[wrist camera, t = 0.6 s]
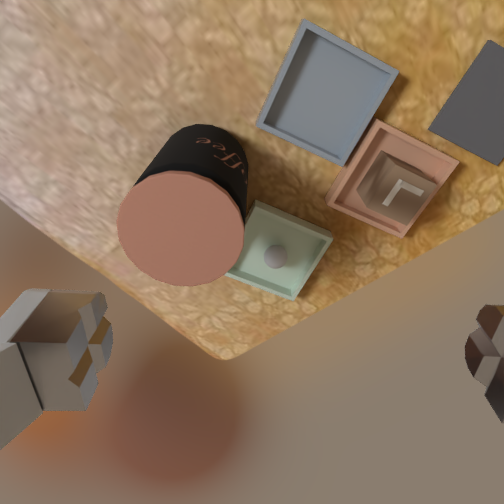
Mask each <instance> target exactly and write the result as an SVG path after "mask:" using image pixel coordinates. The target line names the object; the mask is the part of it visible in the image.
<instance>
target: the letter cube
mask: <svg viewBox="0 0 504 504" xmlns="http://www.w3.org/2000/svg"><path fill="white" fill-rule="evenodd" d="M436 186H437V184H436V183H435V182H433V181H432V180H431V179H430V178H429V177H428V176H427V175H425V174H424V173H423V172H422V171H421V170H420V169H418V168H416V167H414V166H412V165H410V164H408V163H406V162H404V161H402V160H400V159H398V158H396V157H394V156H392V155H390V154H388V153H386V152H384V151H382V150H381V151H380V152H379V154H378V156H377V157H376V159H375V160H374V162H373V164H372V165H371V167H370V168H369V170H368V171H367V173H366V175H365V176H364V178H363V179H362V181H361V182H360V184H359V186H358V187H357V189H356V191H357V192H358V194H359V196H360V197H361V199H362V200H363V202H364V204H365V205H366V207H367V208H369V209H371V210H373V211H375V212H377V213H380V214H382V215H384V216H386V217H388V218H391V219H393V220H395V221H397V222H400V223H402V224H404V225H406V226H407V225H408V224H409V223H410V221H411V220H412V219H413V217H414V216H415V215H416V213H417V212H418V210H419V209H420V208H421V206H422V205H423V204H424V202H425V201H426V200H427V198H428V197H429V196H430V194H431V193H432V192H433V190H434V189H435V188H436Z"/></svg>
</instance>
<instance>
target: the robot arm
mask: <svg viewBox="0 0 504 504" xmlns="http://www.w3.org/2000/svg"><path fill="white" fill-rule="evenodd" d="M107 308H108V307H107V303H106V299H105V295H104V294H102V293H101V292H94V291H75V290H56V289H55V290H51V289H28V290H26V291H24V292H23V293H22V294H21V295H20V296H19V297H18V299H17V300H16V301H15V302H14V303H13V304H12V305H11V306H10V308H9V309H8V310H7V311H6V312H5V313H4V314H3V316H2V317H1V318H0V450H1V449H2V448H3V447H4V446H6V445H7V444H8V443H9V442H10V441H11V440H12V439H14V438H15V437H16V436H17V435H18V434H19V433H21V432H22V431H23V430H24V429H25V428H26V427H27V426H28V425H30V424H31V423H32V422H33V421H34V420H36V418H38V417H39V416H40V415H41V414H42V413H43V411H86V410H87V408H88V405H89V403H90V401H91V399H92V396H93V394H94V392H95V390H96V388H97V385H98V380H97V376H96V373H98V372H99V371H100V370H102V369H103V368H104V367H106V365H107V362H108V360H109V358H110V354H111V349H112V344H113V333H112V326H111V323H110V322H109V321H108V320H107V319H106V318H105V317H104V316H103V315H104V314H105V312H106V310H107ZM476 320H477V323H478V325H479V328H478V329H476V330H475V331H474V332H472V333H471V334H469V336H468V339H467V342H466V345H465V360H466V363H467V366H468V369H469V371H470V372H471V374H472V376H473V377H474V378H475V379H476V380H478V381H479V382H480V383H482V384H483V385H485V386H486V391H485V397H486V399H487V400H488V402H489V403H490V405H491V407H492V408H493V410H494V411H495V413H496V415H497V416H498V418H499V419H500V421H501V423H504V305H485V306H484V307H483V308H482V309H481V310H480V311H479V314H478V316H477V318H476Z"/></svg>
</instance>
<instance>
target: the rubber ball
mask: <svg viewBox="0 0 504 504" xmlns="http://www.w3.org/2000/svg"><path fill="white" fill-rule="evenodd" d="M287 259H288V255H287V252H286V250H285V249H284V248H283V247H282V246H279V245H272V246H270V247H268V248H267V249H266V251H265V253H264V261H265V263H266V264H267V265H268V266H269V267H270V268H273V269H278V268H281V267H283V266H284V265H285V264H286V262H287Z"/></svg>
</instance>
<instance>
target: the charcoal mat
mask: <svg viewBox="0 0 504 504" xmlns="http://www.w3.org/2000/svg"><path fill="white" fill-rule="evenodd" d="M428 130H430V131H432V132H434V133H436V134H437V135H439V136H441V137H443V138H445V139H447V140H449V141H451V142H453V143H455V144H457V145H458V146H460V147H462V148H464V149H466V150H468V151H470V152H472V153H474V154H476V155H478V156H479V157H481V158H483V159H485V160H487V161H489V162H491V163H493V164H495V165H498V164H499V163H500V162H501V160H502V159H503V158H504V48H503V47H501V46H500V45H498V44H496V43H495V42H493V41H491V40H488V41H487V43H486V44H485V45H484V47H483V48H482V50H481V51H480V53H479V54H478V56H477V57H476V59H475V60H474V62H473V63H472V65H471V66H470V68H469V69H468V71H467V72H466V74H465V75H464V76H463V78H462V79H461V81H460V82H459V84H458V85H457V87H456V88H455V90H454V91H453V93H452V94H451V96H450V97H449V99H448V100H447V102H446V103H445V104H444V106H443V107H442V109H441V110H440V112H439V113H438V115H437V116H436V118H435V119H434V121H433V122H432V124H431V125H430V127H429V128H428Z"/></svg>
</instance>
